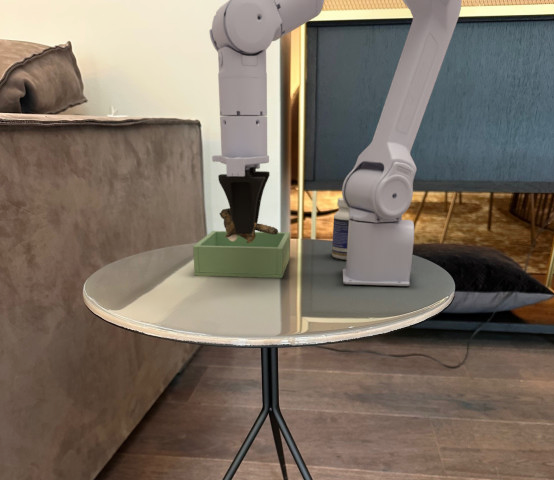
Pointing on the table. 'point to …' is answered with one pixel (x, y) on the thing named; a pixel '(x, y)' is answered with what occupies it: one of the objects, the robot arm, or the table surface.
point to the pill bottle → (340, 231)
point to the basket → (242, 255)
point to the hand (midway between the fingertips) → (246, 230)
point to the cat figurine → (249, 237)
